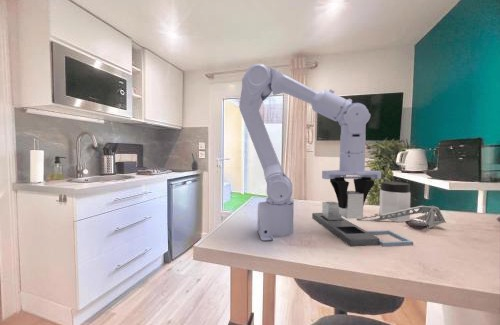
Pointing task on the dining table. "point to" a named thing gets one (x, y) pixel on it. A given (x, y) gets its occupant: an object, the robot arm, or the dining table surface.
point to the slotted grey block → (330, 211)
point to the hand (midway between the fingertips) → (350, 207)
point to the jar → (395, 199)
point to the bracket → (423, 209)
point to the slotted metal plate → (347, 231)
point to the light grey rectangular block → (353, 205)
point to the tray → (403, 241)
